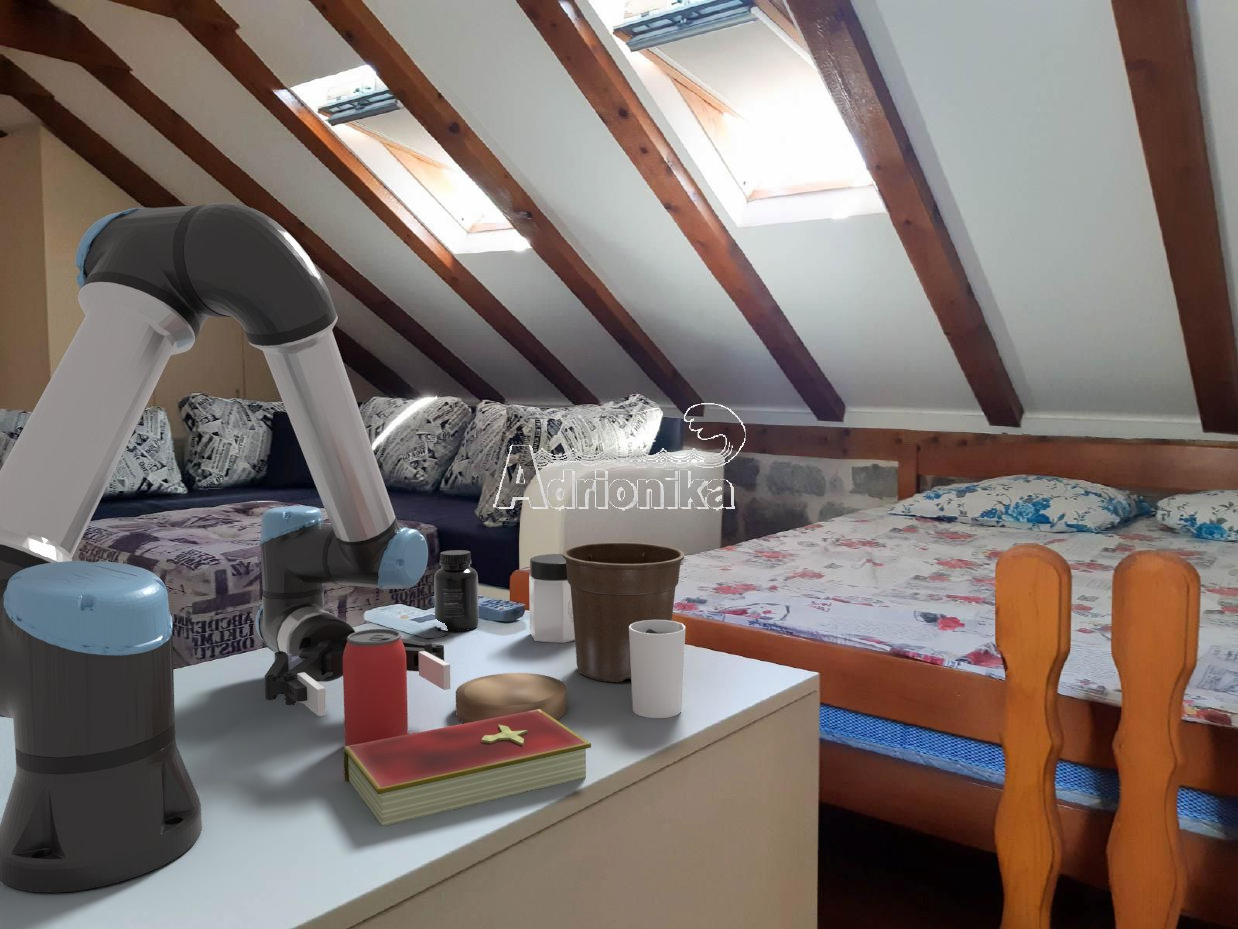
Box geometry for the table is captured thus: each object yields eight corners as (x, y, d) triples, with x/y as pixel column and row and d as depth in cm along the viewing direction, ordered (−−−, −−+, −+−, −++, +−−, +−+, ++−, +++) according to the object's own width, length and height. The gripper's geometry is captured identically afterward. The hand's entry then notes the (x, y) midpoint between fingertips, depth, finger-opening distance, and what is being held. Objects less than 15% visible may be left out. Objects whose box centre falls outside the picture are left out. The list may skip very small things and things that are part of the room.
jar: (552, 647, 140) (551, 566, 139) (517, 636, 146) (516, 558, 145) (597, 635, 146) (596, 558, 145) (562, 626, 152) (561, 551, 151)
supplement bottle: (487, 625, 152) (486, 551, 151) (458, 635, 147) (457, 557, 146) (455, 619, 156) (454, 547, 155) (425, 628, 150) (424, 553, 149)
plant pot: (702, 662, 132) (703, 547, 130) (652, 696, 118) (652, 567, 116) (599, 647, 139) (598, 538, 138) (540, 678, 125) (539, 556, 124)
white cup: (621, 715, 111) (620, 631, 110) (639, 698, 117) (639, 617, 116) (676, 722, 109) (676, 636, 108) (692, 704, 115) (692, 622, 114)
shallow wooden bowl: (488, 739, 104) (488, 716, 104) (437, 706, 114) (436, 685, 114) (588, 714, 111) (587, 693, 111) (531, 685, 122) (531, 666, 122)
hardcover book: (344, 784, 93) (342, 742, 93) (538, 743, 104) (538, 705, 104) (379, 834, 83) (377, 787, 83) (591, 782, 94) (591, 740, 93)
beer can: (392, 759, 98) (389, 645, 97) (333, 754, 100) (330, 642, 98) (418, 736, 105) (415, 628, 104) (362, 732, 106) (359, 626, 105)
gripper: (415, 656, 124) (494, 700, 107) (211, 694, 109) (264, 751, 92) (414, 599, 123) (493, 634, 106) (209, 629, 108) (261, 675, 91)
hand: (387, 689), depth 99 cm, fingers open, 13 cm apart
